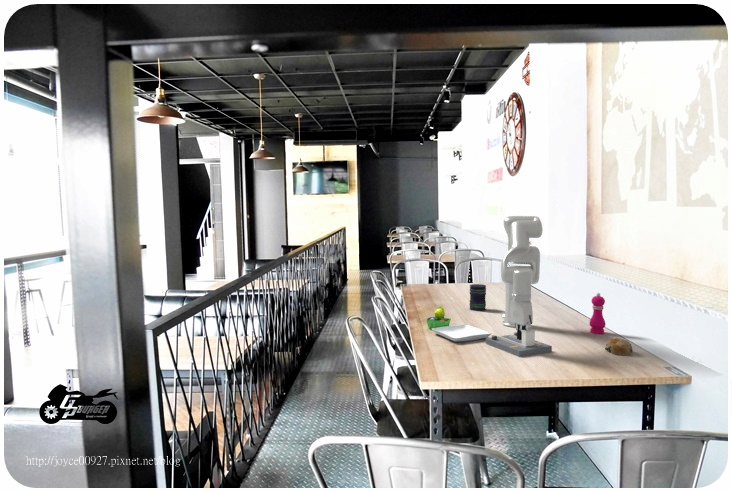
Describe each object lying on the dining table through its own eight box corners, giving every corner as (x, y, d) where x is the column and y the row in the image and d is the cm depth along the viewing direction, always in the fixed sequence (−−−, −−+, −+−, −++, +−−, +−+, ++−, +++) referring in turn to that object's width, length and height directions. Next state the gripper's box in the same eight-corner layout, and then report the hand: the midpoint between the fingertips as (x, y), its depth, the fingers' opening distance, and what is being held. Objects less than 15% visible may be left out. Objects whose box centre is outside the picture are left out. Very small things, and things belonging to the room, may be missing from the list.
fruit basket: (425, 329, 247) (425, 307, 246) (431, 325, 255) (431, 304, 254) (446, 331, 242) (446, 309, 241) (452, 327, 250) (452, 306, 249)
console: (485, 343, 220) (485, 335, 220) (516, 339, 227) (516, 331, 227) (519, 356, 200) (519, 347, 200) (551, 351, 207) (551, 342, 207)
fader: (520, 345, 208) (521, 330, 207) (530, 343, 210) (530, 328, 210) (525, 346, 205) (525, 331, 205) (535, 345, 207) (535, 330, 207)
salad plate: (430, 334, 238) (430, 327, 238) (466, 330, 246) (466, 323, 246) (454, 345, 219) (454, 337, 218) (492, 340, 227) (492, 333, 227)
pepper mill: (607, 334, 235) (608, 294, 234) (591, 334, 236) (592, 293, 235) (602, 331, 242) (604, 291, 241) (587, 330, 244) (588, 291, 242)
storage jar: (487, 311, 291) (487, 286, 290) (471, 311, 291) (471, 286, 290) (483, 307, 301) (484, 284, 300) (468, 307, 301) (468, 284, 300)
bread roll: (626, 365, 201) (636, 349, 198) (601, 351, 205) (611, 335, 203) (627, 358, 209) (637, 343, 207) (604, 345, 214) (613, 330, 211)
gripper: (503, 296, 215) (502, 336, 217) (527, 301, 202) (526, 344, 203) (516, 294, 219) (515, 334, 220) (541, 300, 205) (540, 342, 206)
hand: (520, 339), depth 211 cm, fingers closed
